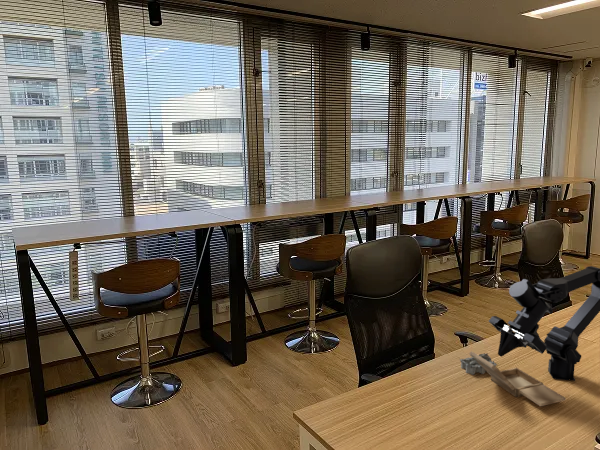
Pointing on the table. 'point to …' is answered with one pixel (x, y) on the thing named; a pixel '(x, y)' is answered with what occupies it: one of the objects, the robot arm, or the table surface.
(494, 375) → the flap
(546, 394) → the carton
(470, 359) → the egg carton
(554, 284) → the robot arm
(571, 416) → the table surface
